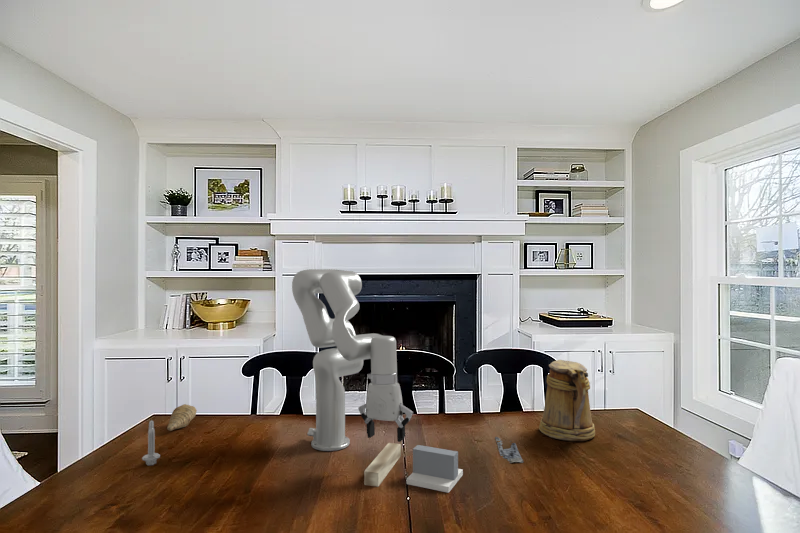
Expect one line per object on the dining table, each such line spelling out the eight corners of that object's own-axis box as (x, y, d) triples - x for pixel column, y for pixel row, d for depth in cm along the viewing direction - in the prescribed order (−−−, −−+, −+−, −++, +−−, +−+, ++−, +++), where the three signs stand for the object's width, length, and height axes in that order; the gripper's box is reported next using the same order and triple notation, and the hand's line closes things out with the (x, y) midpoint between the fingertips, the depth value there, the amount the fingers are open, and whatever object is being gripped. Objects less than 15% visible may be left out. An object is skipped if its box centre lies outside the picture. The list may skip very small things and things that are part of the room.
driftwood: (524, 466, 141) (524, 459, 142) (501, 465, 142) (501, 458, 142) (515, 442, 162) (515, 436, 162) (495, 441, 163) (495, 435, 163)
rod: (364, 486, 128) (364, 471, 128) (388, 455, 149) (388, 442, 149) (378, 487, 127) (378, 472, 127) (400, 456, 148) (400, 444, 148)
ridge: (406, 484, 128) (406, 454, 128) (423, 467, 139) (423, 440, 139) (448, 492, 123) (448, 461, 123) (462, 474, 134) (462, 446, 134)
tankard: (577, 423, 179) (577, 357, 179) (613, 446, 156) (612, 370, 156) (531, 425, 177) (531, 358, 177) (560, 449, 154) (560, 371, 154)
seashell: (183, 435, 167) (183, 412, 167) (159, 435, 167) (159, 412, 167) (198, 422, 181) (198, 401, 181) (176, 423, 181) (176, 402, 181)
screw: (156, 459, 146) (162, 463, 142) (139, 463, 142) (145, 468, 139) (156, 416, 146) (162, 420, 143) (139, 420, 142) (145, 423, 139)
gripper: (352, 379, 138) (353, 439, 138) (405, 383, 131) (407, 446, 130) (364, 374, 145) (366, 431, 145) (416, 378, 138) (418, 437, 137)
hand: (385, 438), depth 138 cm, fingers open, 9 cm apart
